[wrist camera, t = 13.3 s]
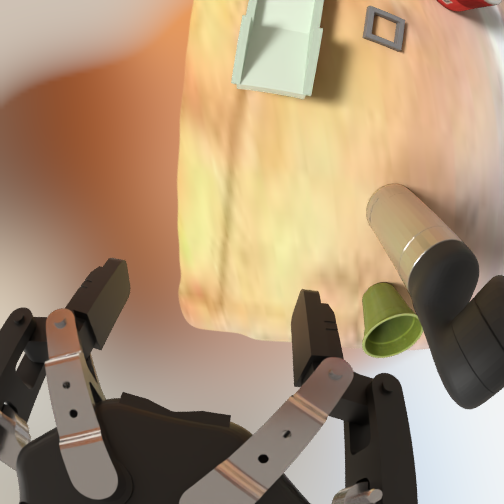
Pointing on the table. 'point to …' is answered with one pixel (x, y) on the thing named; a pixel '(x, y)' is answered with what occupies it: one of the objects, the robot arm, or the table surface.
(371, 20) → the grey picture frame
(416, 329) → the plant pot
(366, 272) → the table surface
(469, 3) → the canned food
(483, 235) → the table surface
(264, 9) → the lane
